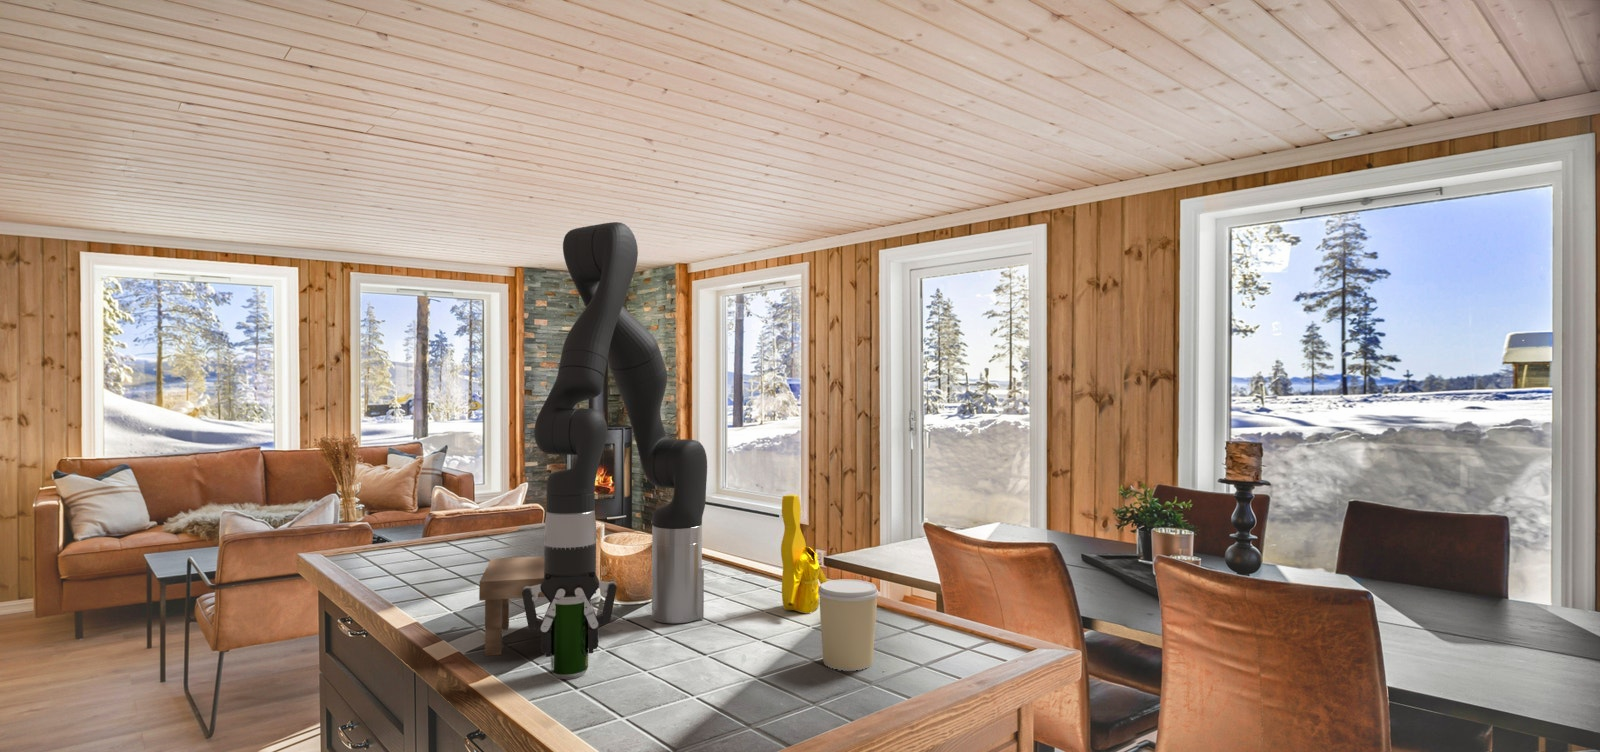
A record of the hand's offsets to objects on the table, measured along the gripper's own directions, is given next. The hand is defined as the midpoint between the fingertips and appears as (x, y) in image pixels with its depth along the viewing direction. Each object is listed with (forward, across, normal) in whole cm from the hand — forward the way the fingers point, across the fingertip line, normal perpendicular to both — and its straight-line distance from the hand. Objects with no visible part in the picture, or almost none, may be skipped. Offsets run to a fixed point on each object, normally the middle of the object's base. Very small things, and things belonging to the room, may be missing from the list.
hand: (569, 653), depth 123 cm
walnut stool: (+3, +5, -20) cm, 21 cm away
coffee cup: (+3, -42, +6) cm, 43 cm away
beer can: (+3, 0, 0) cm, 3 cm away
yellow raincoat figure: (+3, -43, -26) cm, 50 cm away
